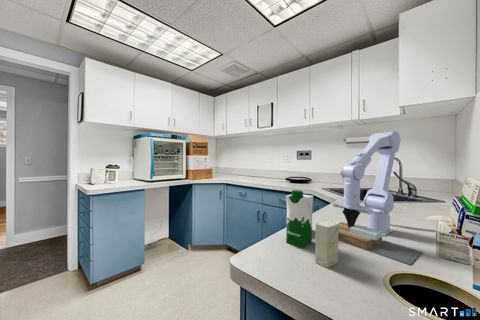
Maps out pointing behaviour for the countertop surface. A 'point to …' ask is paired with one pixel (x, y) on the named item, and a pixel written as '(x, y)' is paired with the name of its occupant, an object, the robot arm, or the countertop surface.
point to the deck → (355, 238)
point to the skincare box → (326, 243)
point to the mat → (397, 252)
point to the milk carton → (299, 219)
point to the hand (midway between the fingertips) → (351, 227)
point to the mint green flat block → (366, 232)
